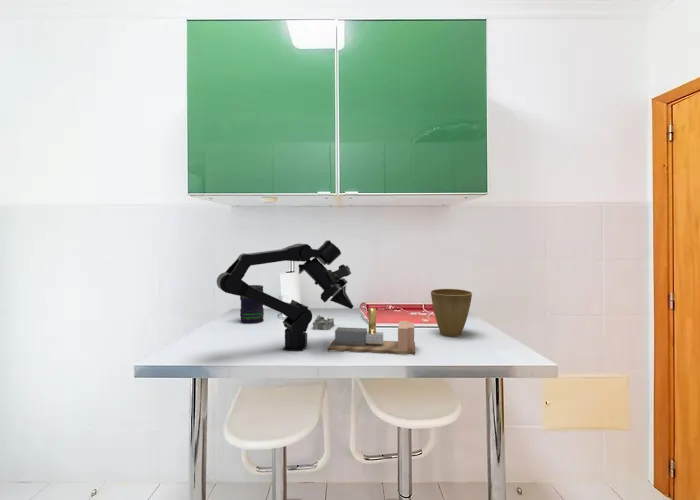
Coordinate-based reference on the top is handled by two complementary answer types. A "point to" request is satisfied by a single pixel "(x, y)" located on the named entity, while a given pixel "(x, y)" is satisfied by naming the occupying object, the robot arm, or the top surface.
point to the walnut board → (372, 348)
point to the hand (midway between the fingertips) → (352, 307)
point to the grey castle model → (323, 323)
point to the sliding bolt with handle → (373, 329)
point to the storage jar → (251, 309)
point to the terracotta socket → (405, 336)
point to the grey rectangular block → (350, 336)
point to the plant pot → (451, 310)
